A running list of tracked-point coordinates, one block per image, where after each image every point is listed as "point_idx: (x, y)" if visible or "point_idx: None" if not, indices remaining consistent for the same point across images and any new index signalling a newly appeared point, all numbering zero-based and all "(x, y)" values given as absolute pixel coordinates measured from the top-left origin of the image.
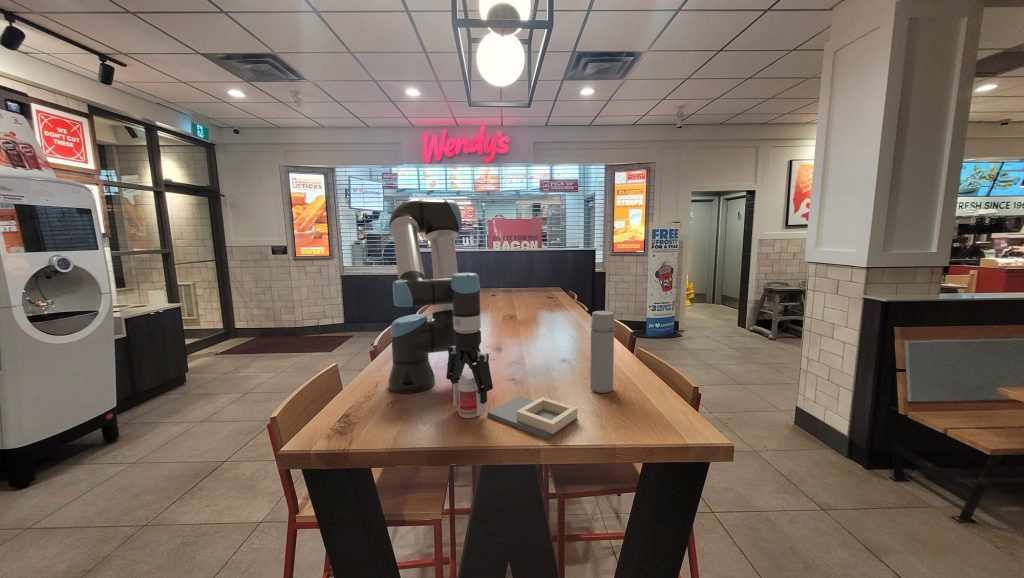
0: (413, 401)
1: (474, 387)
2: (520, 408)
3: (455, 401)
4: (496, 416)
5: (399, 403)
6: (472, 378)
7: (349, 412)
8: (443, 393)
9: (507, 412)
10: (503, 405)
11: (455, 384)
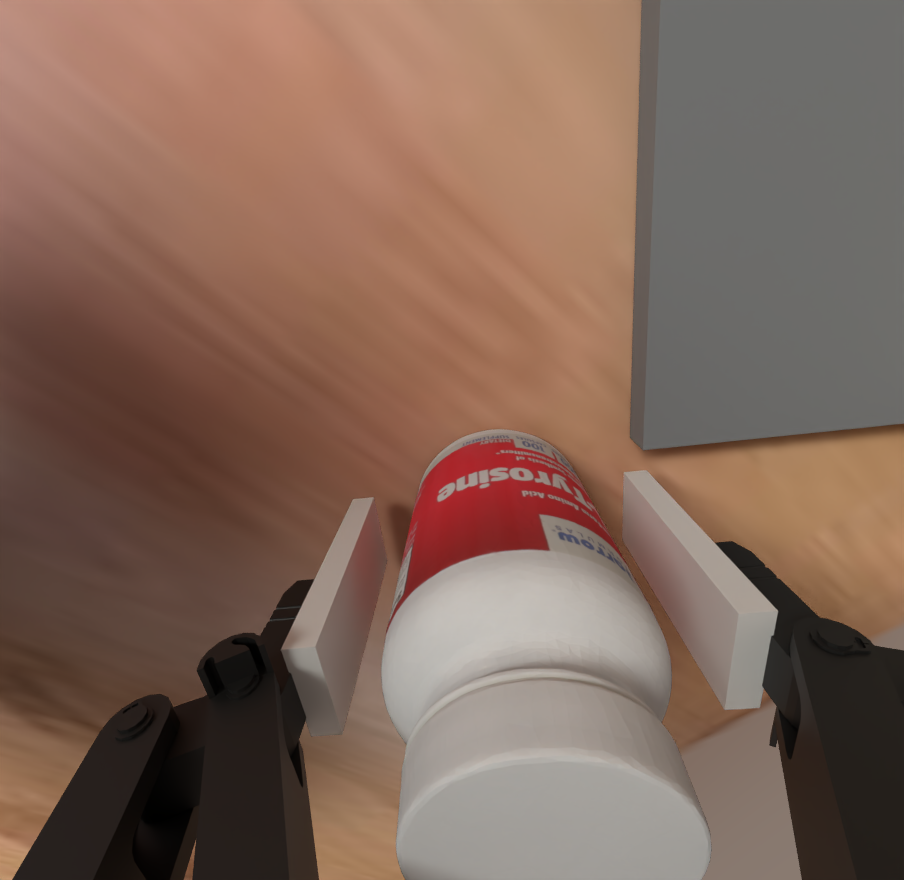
0: (76, 632)
1: (663, 712)
2: (870, 174)
3: (379, 586)
4: (739, 436)
5: (66, 690)
6: (698, 876)
7: None
8: (28, 429)
9: (795, 336)
10: (673, 259)
11: (339, 724)
